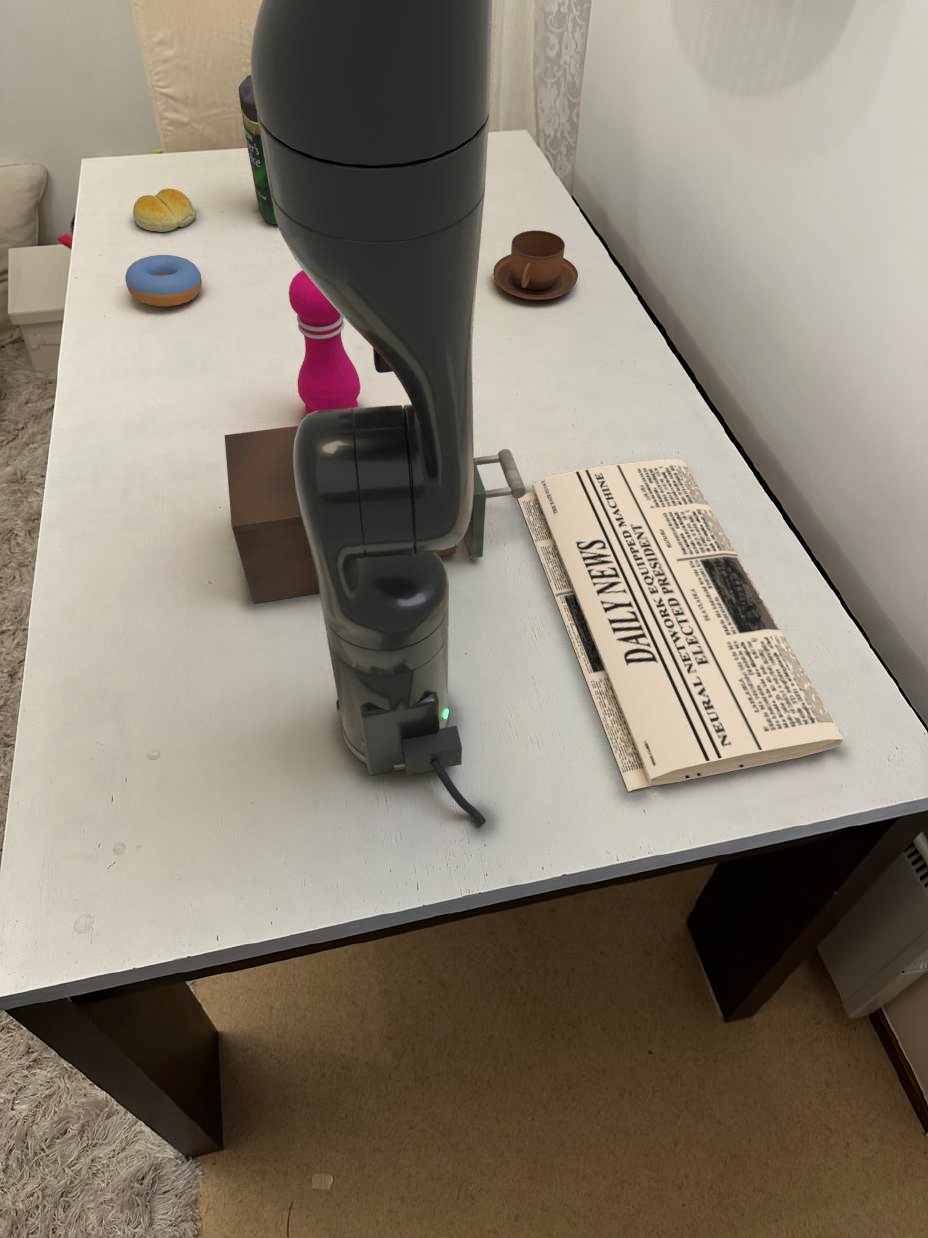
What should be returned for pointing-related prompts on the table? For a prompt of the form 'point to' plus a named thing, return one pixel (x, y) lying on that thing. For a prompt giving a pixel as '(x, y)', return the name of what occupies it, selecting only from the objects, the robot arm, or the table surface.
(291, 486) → the brown box
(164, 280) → the doughnut
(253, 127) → the coffee jar
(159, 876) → the table surface
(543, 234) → the cup and saucer
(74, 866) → the table surface
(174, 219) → the bread roll
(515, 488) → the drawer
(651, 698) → the newspaper
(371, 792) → the table surface
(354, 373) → the pepper mill
